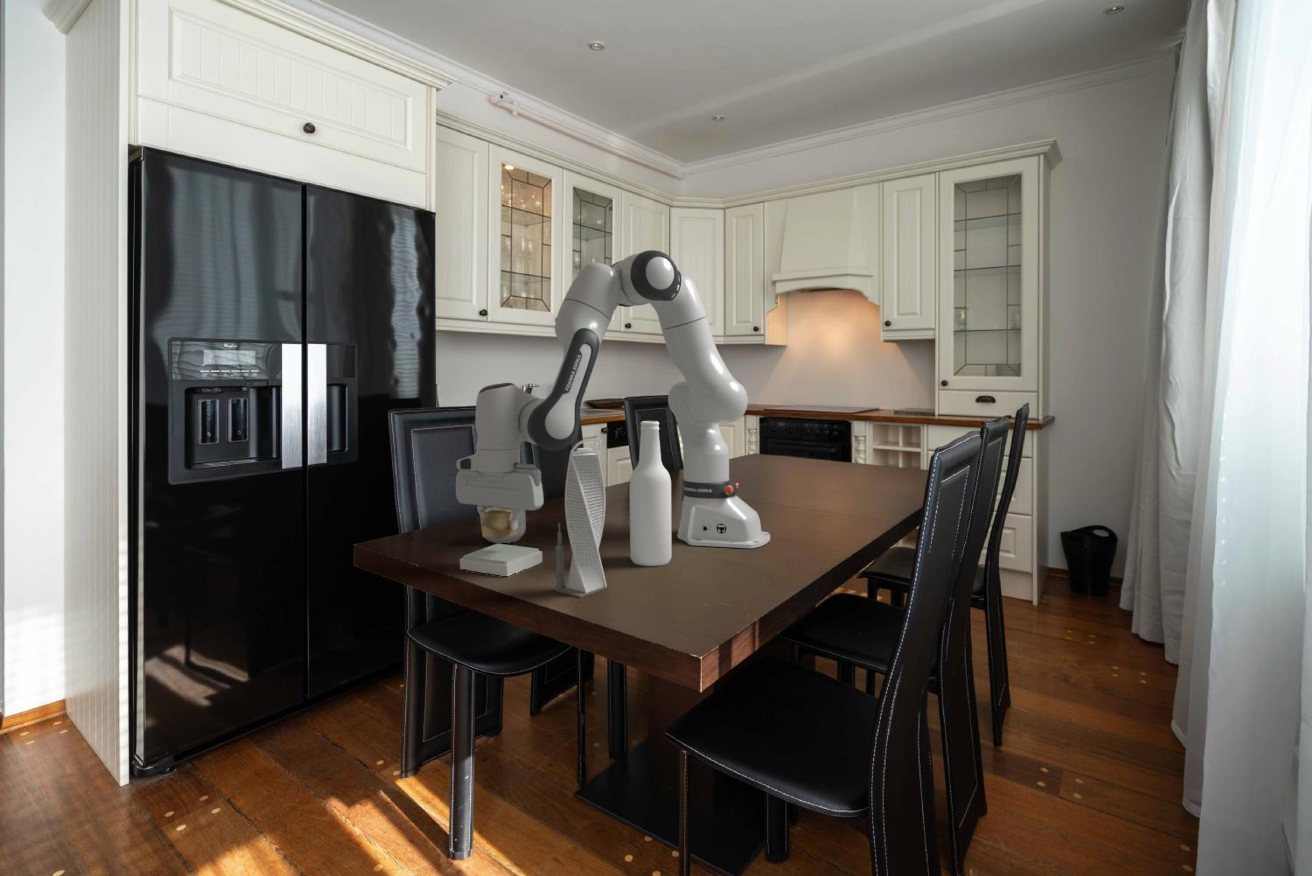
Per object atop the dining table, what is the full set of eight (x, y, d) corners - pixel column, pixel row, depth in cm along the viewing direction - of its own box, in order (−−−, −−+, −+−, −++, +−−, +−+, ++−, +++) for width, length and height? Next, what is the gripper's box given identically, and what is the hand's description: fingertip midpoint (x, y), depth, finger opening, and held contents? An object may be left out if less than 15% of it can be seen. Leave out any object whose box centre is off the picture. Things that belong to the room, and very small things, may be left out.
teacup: (520, 547, 160) (519, 513, 159) (474, 547, 160) (473, 513, 159) (532, 533, 173) (532, 502, 173) (490, 533, 174) (489, 502, 173)
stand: (542, 562, 146) (542, 548, 146) (507, 577, 136) (506, 562, 135) (497, 556, 151) (496, 542, 151) (460, 570, 141) (459, 556, 140)
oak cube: (516, 533, 144) (516, 510, 143) (501, 539, 139) (501, 514, 139) (497, 531, 146) (497, 508, 146) (482, 536, 142) (481, 512, 141)
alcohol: (667, 568, 141) (666, 423, 138) (626, 566, 143) (624, 422, 140) (674, 556, 150) (674, 420, 147) (635, 555, 152) (634, 420, 149)
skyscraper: (586, 579, 134) (583, 437, 131) (616, 587, 129) (614, 439, 126) (553, 590, 127) (550, 440, 125) (584, 599, 122) (581, 443, 119)
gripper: (549, 462, 140) (550, 529, 141) (470, 457, 149) (472, 520, 150) (530, 466, 134) (532, 535, 135) (450, 460, 143) (451, 526, 144)
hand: (499, 527), depth 143 cm, fingers closed on oak cube, 5 cm apart
